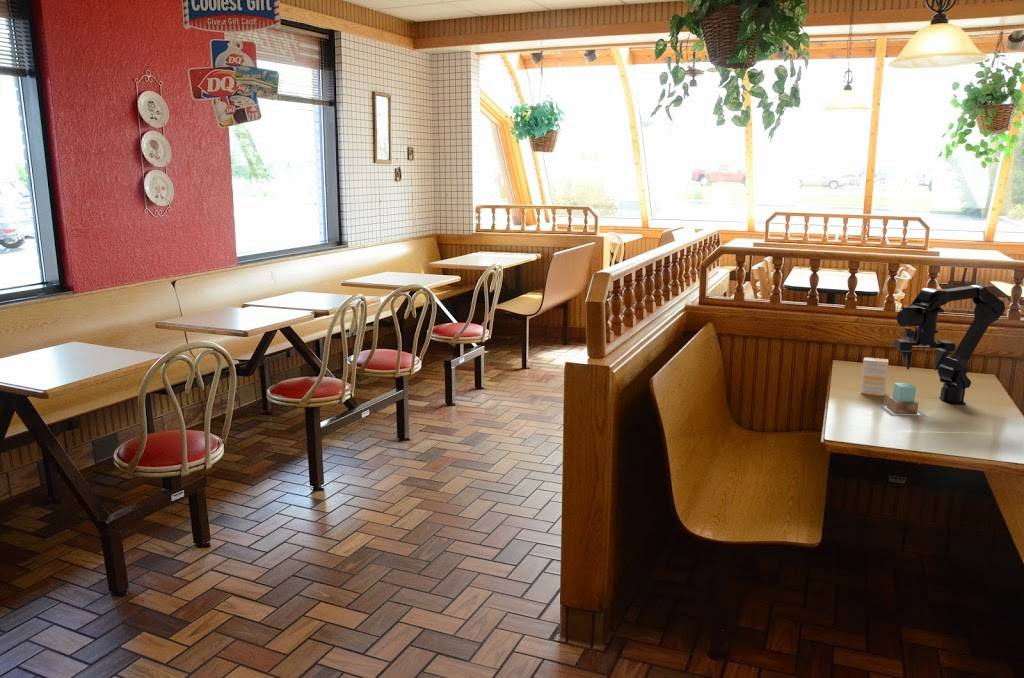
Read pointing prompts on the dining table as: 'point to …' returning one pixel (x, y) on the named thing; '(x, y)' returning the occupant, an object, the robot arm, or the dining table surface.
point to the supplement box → (874, 376)
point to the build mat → (891, 413)
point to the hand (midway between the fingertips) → (921, 369)
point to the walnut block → (902, 406)
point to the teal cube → (904, 392)
